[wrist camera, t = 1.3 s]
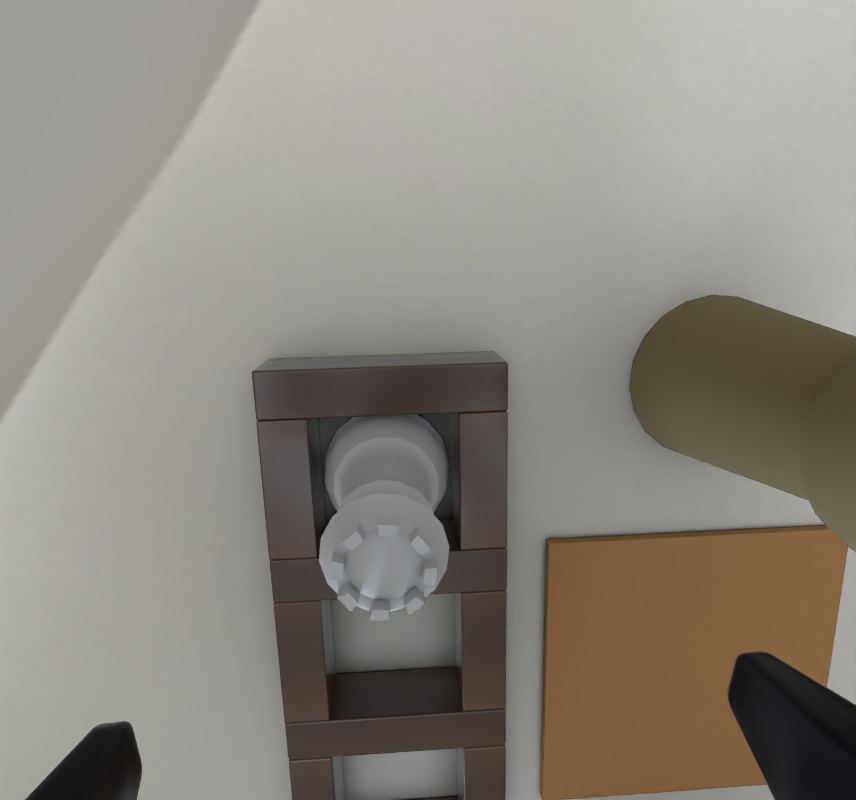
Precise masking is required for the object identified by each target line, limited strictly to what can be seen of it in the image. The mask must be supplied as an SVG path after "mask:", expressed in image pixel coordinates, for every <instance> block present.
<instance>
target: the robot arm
mask: <svg viewBox="0 0 856 800" xmlns="http://www.w3.org/2000/svg"><path fill="white" fill-rule="evenodd" d="M728 701H729V705H730V708H731V710H732V712H733V714H734V716H735V718H736V720H737V723H738V725H739V727H740V729H741V731H742V733H743V735H744V737H745V739H746V741H747V743H748V745H749V747H750V749H751V752H752V754H753V756H754V758H755V760H756V762H757V764H758V766H759V768H760V770H761V772H762V774H763V776H764V778H765V781H766V783H767V785H768V787H769V789H770V791H771V793H772V795H773V797H774V799H775V800H856V705H855V704H853V703H851V702H850V701H848V700H846V699H845V698H843V697H841V696H840V695H838V694H836V693H835V692H833V691H831V690H830V689H828V688H826V687H825V686H823V685H822V684H820V683H818V682H817V681H815V680H813V679H812V678H810V677H808V676H807V675H805V674H803V673H802V672H800V671H798V670H797V669H795V668H793V667H792V666H790V665H788V664H787V663H785V662H783V661H782V660H780V659H778V658H777V657H775V656H774V655H772V654H770V653H768V652H764V651H756V652H747V653H741V654H740V655H738V657H737V658H736V660H735V664H734V668H733V672H732V676H731V680H730V683H729V687H728ZM141 775H142V763H141V758H140V754H139V750H138V746H137V743H136V739H135V735H134V731H133V728H132V725H131V724H130V723H129V722H126V721H122V722H113V723H104V724H100V725H97V726H96V727H95V728H93V729H92V730H91V731H90V732H89V733H88V734H87V735H86V736H85V737H84V738H83V739H82V740H81V741H80V743H79V744H78V745H77V746H76V747H75V748H74V749H73V750H72V751H71V752H70V753H69V754H68V755H67V756H66V757H65V758H64V759H63V760H62V761H61V762H60V764H59V765H58V766H57V767H56V768H55V769H54V770H53V771H52V772H51V773H50V774H49V775H48V776H47V777H46V778H45V779H44V780H43V781H42V782H41V784H40V785H39V786H38V787H37V788H36V789H35V790H34V791H33V792H32V793H31V794H30V795H29V796H28V797H27V798H26V799H25V800H137V796H138V791H139V787H140V782H141Z"/></svg>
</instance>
